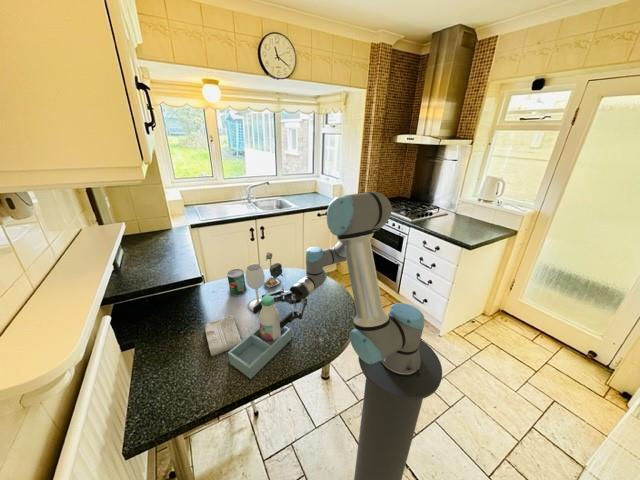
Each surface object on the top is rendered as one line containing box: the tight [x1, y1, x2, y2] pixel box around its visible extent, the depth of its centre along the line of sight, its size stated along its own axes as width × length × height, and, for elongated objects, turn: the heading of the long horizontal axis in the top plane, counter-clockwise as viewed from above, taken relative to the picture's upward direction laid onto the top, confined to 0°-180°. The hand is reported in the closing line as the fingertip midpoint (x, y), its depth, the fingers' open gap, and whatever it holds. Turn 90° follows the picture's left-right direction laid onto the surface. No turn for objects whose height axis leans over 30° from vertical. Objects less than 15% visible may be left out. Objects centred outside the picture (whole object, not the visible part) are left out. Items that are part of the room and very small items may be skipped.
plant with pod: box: [264, 252, 284, 288], centre depth 135 cm, size 8×11×20 cm
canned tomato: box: [226, 268, 247, 297], centre depth 130 cm, size 8×8×11 cm
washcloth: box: [204, 315, 242, 357], centre depth 103 cm, size 12×18×3 cm, turn 30°
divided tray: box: [227, 325, 292, 380], centre depth 96 cm, size 11×21×5 cm, turn 146°
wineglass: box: [245, 263, 266, 312], centre depth 117 cm, size 9×9×21 cm
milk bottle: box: [258, 295, 281, 345], centre depth 97 cm, size 8×8×20 cm
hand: (266, 318), depth 95 cm, fingers open, 13 cm apart
